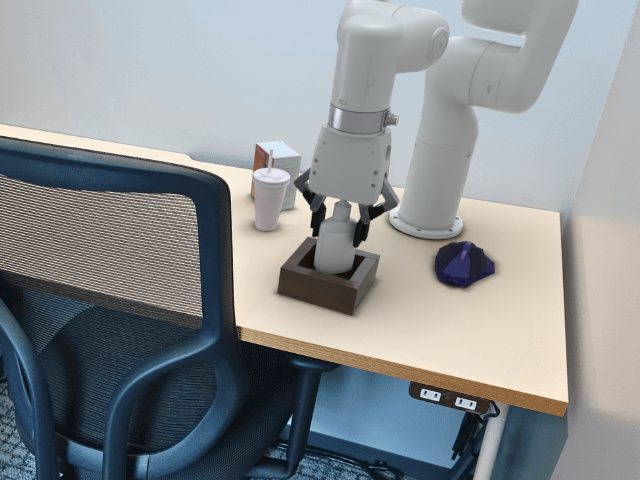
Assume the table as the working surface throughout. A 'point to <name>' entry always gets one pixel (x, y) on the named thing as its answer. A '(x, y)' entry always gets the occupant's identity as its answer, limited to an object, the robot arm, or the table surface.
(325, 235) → the eye dropper bottle
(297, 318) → the table surface
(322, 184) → the robot arm
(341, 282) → the holder
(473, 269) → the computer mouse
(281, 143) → the small box
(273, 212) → the smoothie
